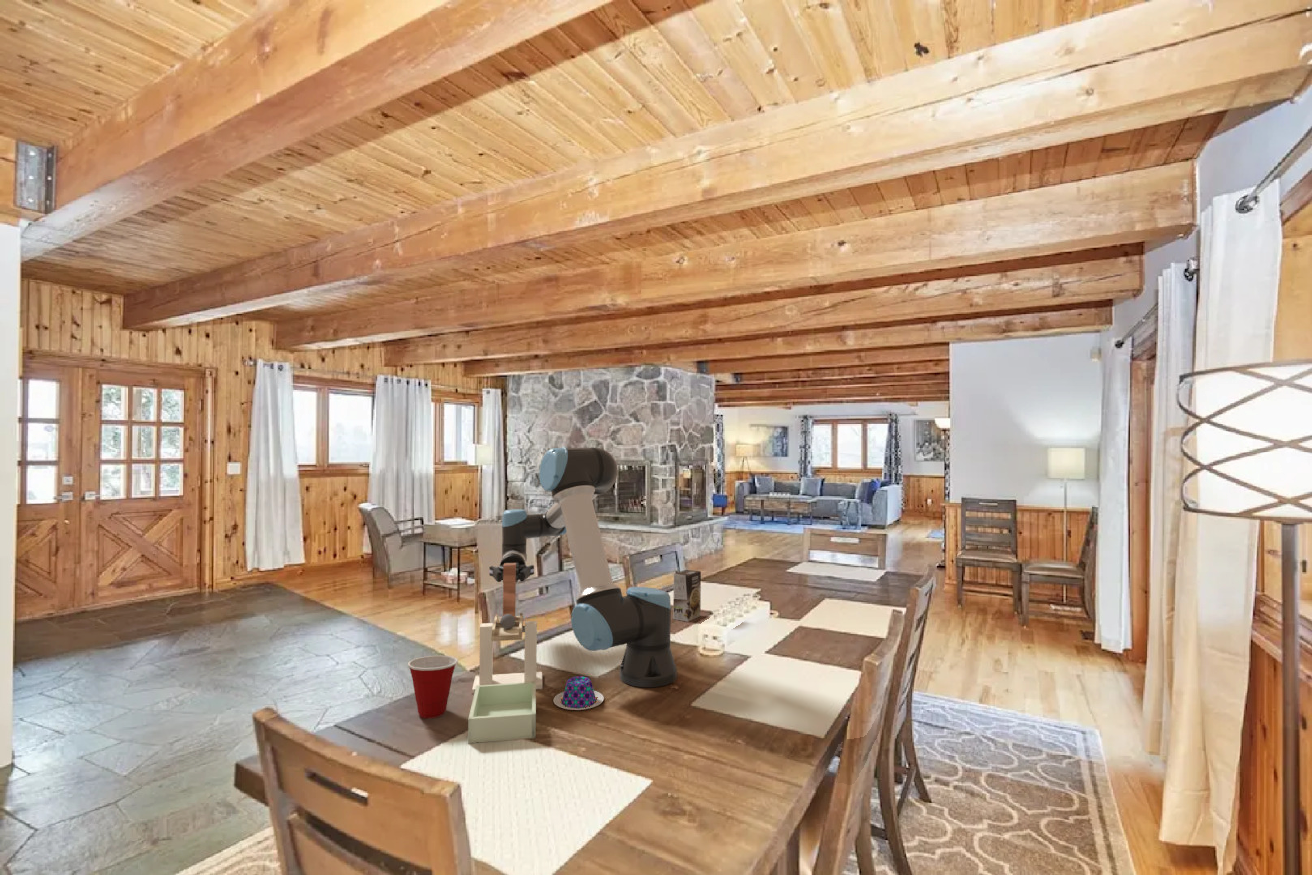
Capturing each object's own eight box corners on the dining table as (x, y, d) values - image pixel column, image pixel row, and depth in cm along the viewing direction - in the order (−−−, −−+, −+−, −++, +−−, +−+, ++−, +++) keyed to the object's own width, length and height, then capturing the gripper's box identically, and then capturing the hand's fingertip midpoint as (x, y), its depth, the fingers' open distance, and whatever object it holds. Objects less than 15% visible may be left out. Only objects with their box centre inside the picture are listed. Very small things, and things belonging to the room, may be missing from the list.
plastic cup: (465, 703, 147) (465, 652, 147) (445, 724, 136) (445, 669, 136) (421, 701, 148) (421, 650, 148) (397, 721, 137) (398, 667, 137)
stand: (475, 679, 161) (476, 619, 161) (542, 675, 165) (542, 616, 165) (472, 693, 153) (472, 630, 153) (542, 688, 156) (542, 626, 156)
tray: (476, 707, 145) (476, 685, 145) (535, 702, 147) (535, 681, 147) (468, 743, 128) (468, 718, 128) (535, 737, 130) (535, 713, 130)
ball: (518, 628, 152) (518, 613, 152) (507, 632, 149) (507, 617, 149) (508, 625, 154) (508, 611, 154) (496, 629, 151) (497, 614, 151)
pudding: (580, 717, 140) (581, 694, 140) (542, 704, 147) (542, 682, 147) (614, 699, 150) (614, 678, 150) (576, 688, 157) (577, 667, 157)
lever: (495, 621, 161) (496, 563, 161) (523, 620, 163) (523, 562, 163) (491, 641, 146) (492, 576, 146) (521, 639, 147) (522, 575, 147)
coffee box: (688, 622, 214) (688, 575, 214) (672, 619, 217) (672, 573, 217) (701, 616, 221) (701, 570, 222) (685, 613, 225) (686, 568, 225)
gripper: (534, 577, 189) (534, 596, 165) (490, 578, 186) (483, 598, 163) (535, 552, 189) (534, 568, 166) (490, 553, 186) (484, 569, 163)
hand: (509, 583), depth 164 cm, fingers closed
